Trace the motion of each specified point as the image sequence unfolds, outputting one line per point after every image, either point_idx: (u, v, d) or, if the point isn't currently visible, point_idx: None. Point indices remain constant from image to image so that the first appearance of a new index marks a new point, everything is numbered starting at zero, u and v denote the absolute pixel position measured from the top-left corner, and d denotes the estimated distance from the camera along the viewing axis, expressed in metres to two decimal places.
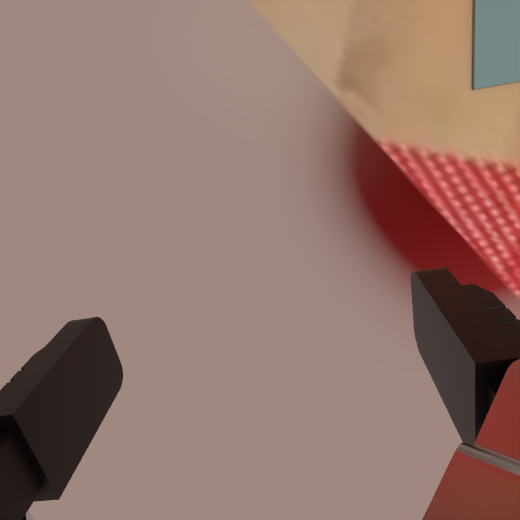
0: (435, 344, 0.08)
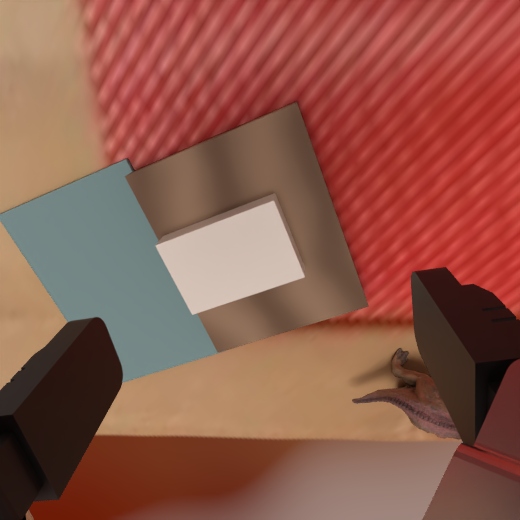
0: (435, 344, 0.08)
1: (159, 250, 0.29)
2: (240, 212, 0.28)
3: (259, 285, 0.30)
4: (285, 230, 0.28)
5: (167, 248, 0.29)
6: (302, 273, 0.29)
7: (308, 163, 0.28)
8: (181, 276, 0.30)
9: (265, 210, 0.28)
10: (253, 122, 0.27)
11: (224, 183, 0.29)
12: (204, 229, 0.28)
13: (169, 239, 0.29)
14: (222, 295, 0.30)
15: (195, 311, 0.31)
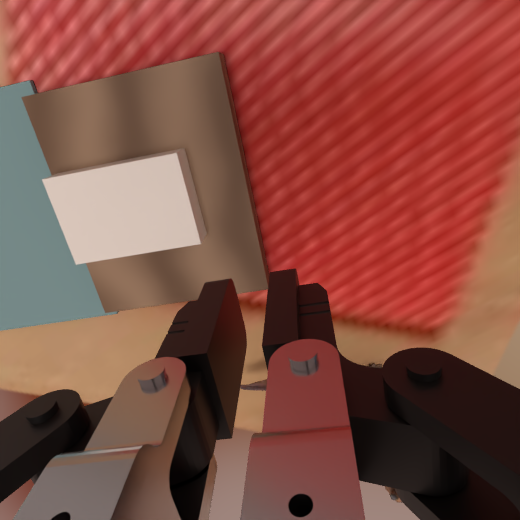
0: None
1: (46, 185, 0.26)
2: (139, 159, 0.26)
3: (151, 244, 0.28)
4: (185, 188, 0.26)
5: (55, 185, 0.26)
6: (198, 239, 0.27)
7: (223, 122, 0.26)
8: (68, 219, 0.27)
9: (166, 162, 0.25)
10: (169, 64, 0.25)
11: (131, 127, 0.27)
12: (98, 171, 0.26)
13: (59, 175, 0.26)
14: (110, 248, 0.28)
15: (79, 261, 0.28)
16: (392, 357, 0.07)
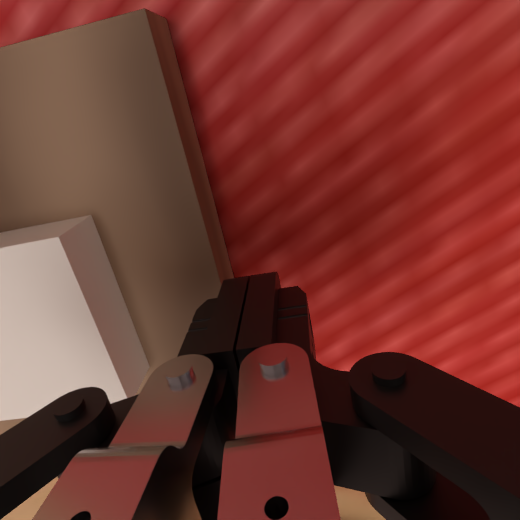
0: None
1: None
2: None
3: (33, 404, 0.14)
4: (87, 306, 0.12)
5: None
6: (125, 397, 0.13)
7: (166, 163, 0.12)
8: None
9: (39, 256, 0.12)
10: (39, 40, 0.11)
11: None
12: None
13: None
14: None
15: None
16: (357, 363, 0.07)
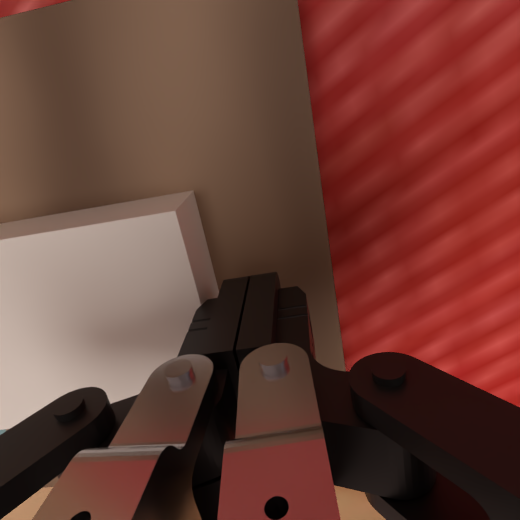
0: None
1: None
2: (83, 224, 0.10)
3: None
4: (196, 293, 0.11)
5: None
6: None
7: (289, 132, 0.11)
8: None
9: (149, 233, 0.10)
10: None
11: (69, 140, 0.11)
12: None
13: None
14: (27, 408, 0.13)
15: None
16: (357, 363, 0.07)
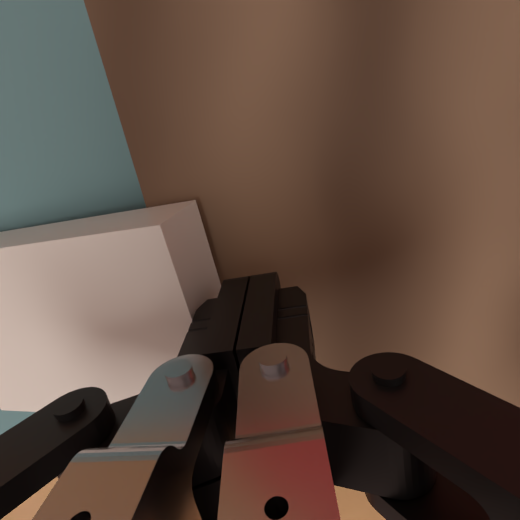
0: None
1: None
2: (83, 234, 0.11)
3: None
4: (187, 307, 0.11)
5: None
6: None
7: None
8: None
9: (138, 245, 0.10)
10: None
11: (366, 81, 0.10)
12: (3, 253, 0.12)
13: None
14: (52, 396, 0.14)
15: (6, 406, 0.15)
16: (358, 363, 0.07)
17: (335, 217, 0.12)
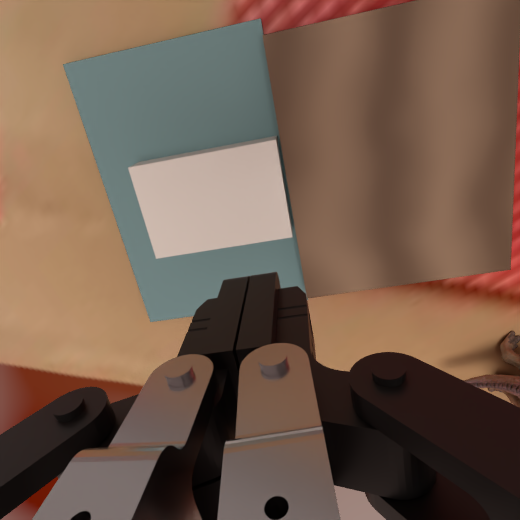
0: None
1: (132, 174, 0.25)
2: (234, 147, 0.24)
3: (239, 237, 0.26)
4: (281, 178, 0.24)
5: (141, 173, 0.25)
6: (290, 232, 0.26)
7: (506, 65, 0.22)
8: (152, 210, 0.26)
9: (263, 149, 0.24)
10: None
11: (390, 72, 0.22)
12: (189, 159, 0.24)
13: (146, 163, 0.25)
14: (195, 241, 0.26)
15: (160, 255, 0.27)
16: (357, 363, 0.07)
17: (374, 139, 0.24)
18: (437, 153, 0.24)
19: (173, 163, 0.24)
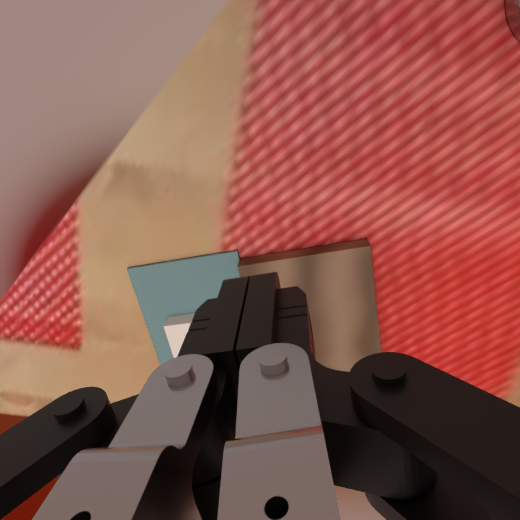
0: None
1: (165, 329, 0.44)
2: None
3: None
4: None
5: (171, 329, 0.44)
6: None
7: (367, 283, 0.41)
8: (176, 347, 0.45)
9: None
10: (337, 251, 0.40)
11: (306, 284, 0.41)
12: None
13: (173, 324, 0.44)
14: None
15: None
16: (358, 363, 0.07)
17: None
18: (335, 322, 0.43)
19: (189, 325, 0.44)
